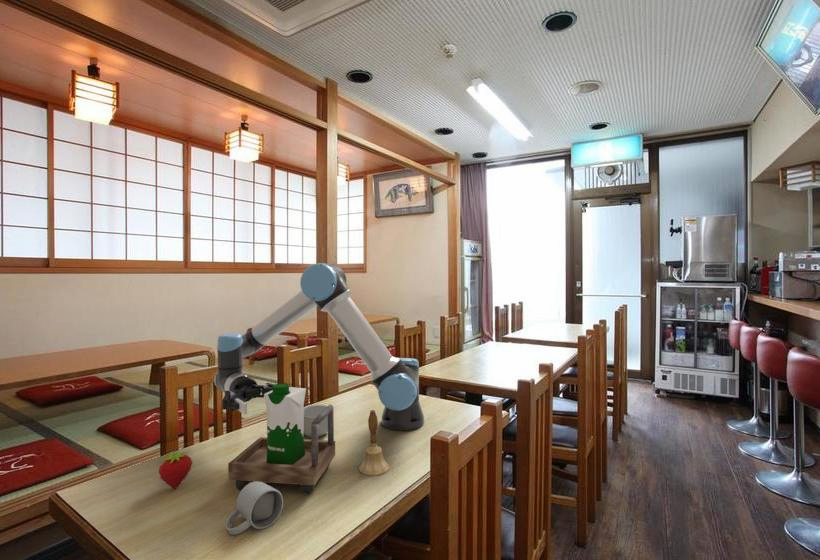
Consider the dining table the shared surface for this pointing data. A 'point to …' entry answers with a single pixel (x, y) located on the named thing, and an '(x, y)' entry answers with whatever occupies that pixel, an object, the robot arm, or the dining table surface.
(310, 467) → the walnut cart
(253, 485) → the ceramic mug
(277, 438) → the soya milk
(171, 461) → the strawberry
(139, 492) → the dining table surface
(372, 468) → the hand bell
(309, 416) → the teacup
